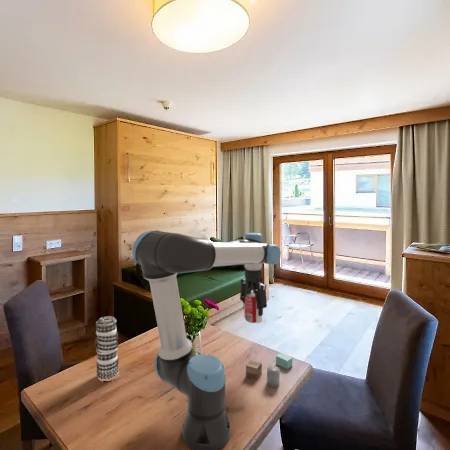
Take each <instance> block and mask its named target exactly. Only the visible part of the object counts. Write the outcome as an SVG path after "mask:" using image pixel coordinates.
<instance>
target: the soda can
mask: <svg viewBox="0 0 450 450" xmlns="http://www.w3.org/2000/svg"><path fill="white" fill-rule="evenodd" d="M256 308H258V306H257V302H256V298H255V293H254V292H252V291H251V293H249V294H247V296H246V297H245V318H244V320H245V321H246V322H248V323H251V324H257V323H256Z"/></svg>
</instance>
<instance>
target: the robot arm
mask: <svg viewBox="0 0 450 450" xmlns="http://www.w3.org/2000/svg"><path fill="white" fill-rule="evenodd" d="M281 252H282V251H281V248H280V247H279V245H277V244H272V243H265V242H263V234H262V233H260V232H259V233H258V232H247V233H245V235H244V239H236V240H230V241H228V242H220V241H219V242H218V241H211V239H208V238H199V237H195V236H190V235H186V234H182V233H176V232H168V231H161V230H157V229H156V230H147V231H144V232H142V233H140V234H139V235H138V236H137V238H136V239H135V241H134V242H133V245H132V248H131V255H132V257H133V260H134V261H135V262H136V263H137V264H138V265H139V266H140V267H141V271H142V276H143V279H145V280H147V282H149V286H150V287H149V288H150V293H151V297H152V302H153V309H154V312H155V313H154V315H155V320H156V324H157V329H158V330H157V331H158V336H159V341H160V346H159V347H158V350H157V353H156V357H155V358H154V363H153V365H154V372H155V373H156V375H157V376H158V377H159V378H160V380H162V381H163V382H164V383H166V384H168V385H169V386H171V387H172V388H174V389H176V390H177V391H178V392H180V393H182V394H183V395H184V396H186V398H187V412H186V416H185V419H184V421H183V424H182V430H181V431H182V440H183V442H184V444H185V445H186V446H187V447H188V448H189V449H190V450H220V449H222V448H223V447H224V446H225V445H227V443H228V442H229V440H230V437H231V423H230V420H229V417H228V414H227V411H226V372H225V370H226V369H225V366H224V363H223V361H221V359H220V358H218V357H217V356H214V355H212V354H209V353H208V354H205V353H199V354H195V353H194V349H193V343H192V341H191V340H190V339H189V338H188V337H187V333H186V327H185V322H184V315H183V309H182V304H181V298H180V292H179V285H178V279H177V275H178V274H183V273H192V272H193V273H194V272H203V271H204V272H205V271H208V270H210V269H212V268H213V267H224V266H225V267H226V266H240V265H241V266H242V265H244V277H245V278H242V279H240V283H241V285H240V294H239V296H240V297H239V300H240V301H242V304H243V306H242V307H243V308H242V309H243V318H244V319H245V297H246V296H247V294H249V293H251V292H252V291H253V292H254V293H255V298H256V302H257V306H258V308H256V323H255V324H260V323H263V315H264V309H265V308H267V307H268V304H267V302H268V301H267V291H266V290H267V284H263V283H262V277H263V264H267V265H277V264H278V262H279V261H280V259H281V254H282V253H281Z"/></svg>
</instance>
